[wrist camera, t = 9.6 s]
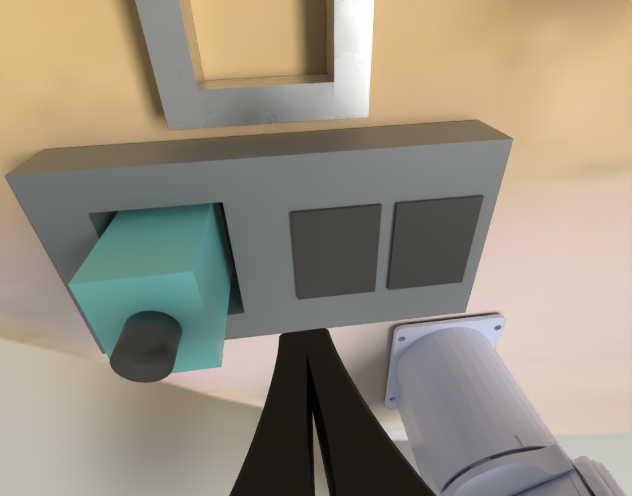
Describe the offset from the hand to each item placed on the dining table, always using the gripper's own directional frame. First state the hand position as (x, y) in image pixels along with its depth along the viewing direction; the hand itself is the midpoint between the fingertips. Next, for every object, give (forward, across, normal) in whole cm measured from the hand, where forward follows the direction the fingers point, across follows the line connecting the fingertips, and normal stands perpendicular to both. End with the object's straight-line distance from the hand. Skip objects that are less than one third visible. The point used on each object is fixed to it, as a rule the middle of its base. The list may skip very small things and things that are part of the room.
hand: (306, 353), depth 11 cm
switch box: (+10, 0, +1) cm, 10 cm away
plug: (+10, +6, +1) cm, 11 cm away
